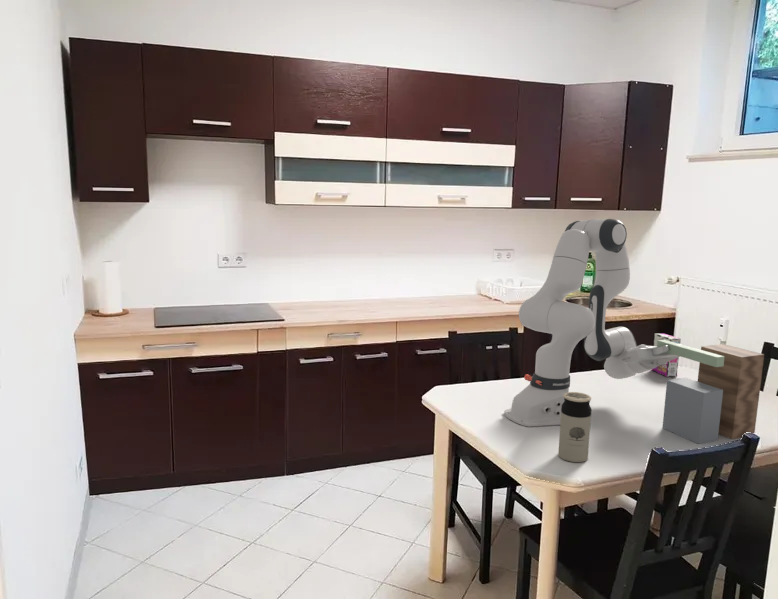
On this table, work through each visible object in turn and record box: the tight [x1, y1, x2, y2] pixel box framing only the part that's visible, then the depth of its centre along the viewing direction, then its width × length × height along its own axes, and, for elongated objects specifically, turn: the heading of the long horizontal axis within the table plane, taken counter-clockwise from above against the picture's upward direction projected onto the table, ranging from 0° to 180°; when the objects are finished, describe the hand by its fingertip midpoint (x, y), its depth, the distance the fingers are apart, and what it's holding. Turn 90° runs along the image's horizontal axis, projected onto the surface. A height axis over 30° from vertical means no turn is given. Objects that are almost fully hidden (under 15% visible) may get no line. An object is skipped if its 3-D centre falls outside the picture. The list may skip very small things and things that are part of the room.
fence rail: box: [657, 340, 725, 367], centre depth 184 cm, size 3×22×3 cm, turn 23°
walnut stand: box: [697, 343, 765, 440], centre depth 188 cm, size 10×14×26 cm
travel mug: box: [557, 391, 592, 463], centre depth 165 cm, size 8×8×18 cm
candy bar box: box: [651, 333, 682, 378], centre depth 250 cm, size 11×5×16 cm, turn 10°
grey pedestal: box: [661, 377, 723, 445], centre depth 184 cm, size 8×14×16 cm, turn 23°
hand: (673, 346), depth 189 cm, fingers closed on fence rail, 3 cm apart
